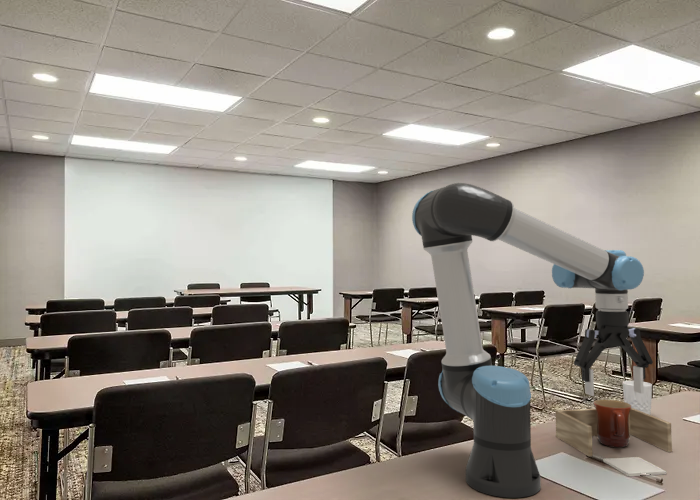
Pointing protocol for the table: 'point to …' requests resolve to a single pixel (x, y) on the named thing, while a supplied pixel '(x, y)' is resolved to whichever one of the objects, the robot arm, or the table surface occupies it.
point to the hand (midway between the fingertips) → (614, 393)
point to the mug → (612, 422)
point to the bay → (583, 425)
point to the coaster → (634, 466)
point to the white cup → (638, 396)
